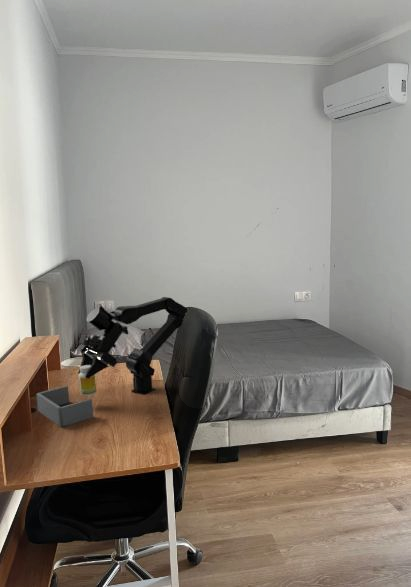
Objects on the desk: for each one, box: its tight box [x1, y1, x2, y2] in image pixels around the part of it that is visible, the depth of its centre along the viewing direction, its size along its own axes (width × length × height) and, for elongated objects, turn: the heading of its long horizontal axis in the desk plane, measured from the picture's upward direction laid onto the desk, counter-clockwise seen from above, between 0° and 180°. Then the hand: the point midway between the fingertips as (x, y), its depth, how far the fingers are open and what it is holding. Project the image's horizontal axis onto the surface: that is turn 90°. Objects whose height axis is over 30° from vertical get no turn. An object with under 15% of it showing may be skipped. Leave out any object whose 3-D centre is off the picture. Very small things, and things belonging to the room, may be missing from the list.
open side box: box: [35, 385, 94, 428], centre depth 161 cm, size 11×20×6 cm, turn 39°
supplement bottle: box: [78, 365, 97, 397], centre depth 166 cm, size 5×5×10 cm
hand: (82, 376), depth 165 cm, fingers closed on supplement bottle, 5 cm apart
